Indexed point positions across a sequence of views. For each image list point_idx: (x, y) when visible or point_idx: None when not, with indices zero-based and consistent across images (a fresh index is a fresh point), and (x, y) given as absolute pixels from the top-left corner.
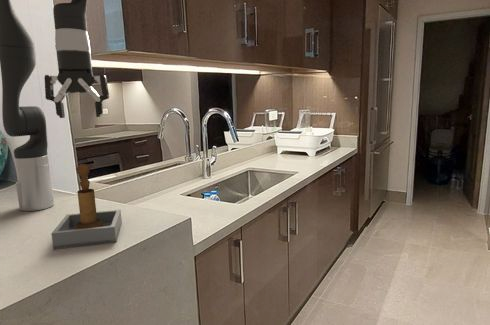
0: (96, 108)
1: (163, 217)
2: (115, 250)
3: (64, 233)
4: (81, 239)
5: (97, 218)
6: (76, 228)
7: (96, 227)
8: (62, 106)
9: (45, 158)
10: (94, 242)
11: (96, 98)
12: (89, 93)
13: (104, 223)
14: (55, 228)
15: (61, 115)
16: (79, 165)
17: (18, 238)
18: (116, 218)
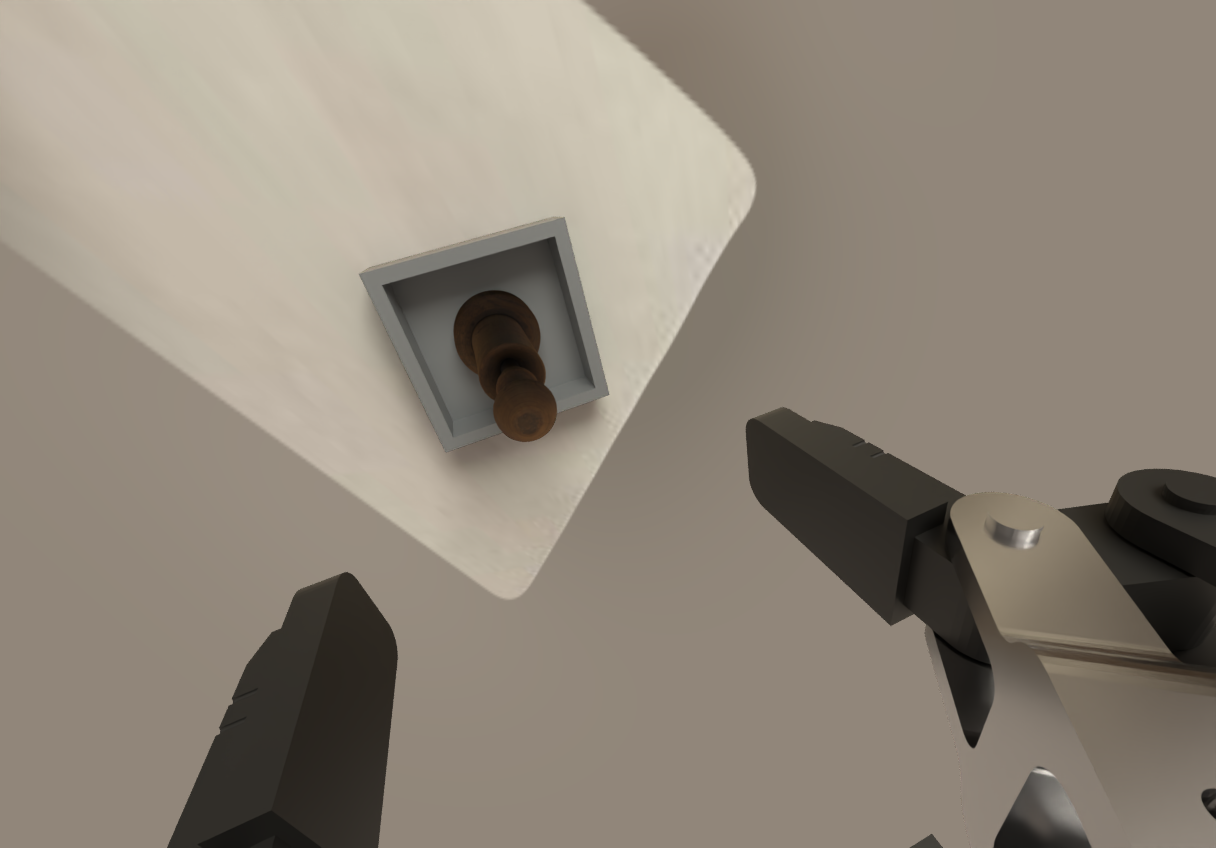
0: (829, 554)
1: (685, 163)
2: (612, 423)
3: (480, 439)
4: None
5: (516, 314)
6: (471, 370)
7: (559, 402)
8: (340, 764)
9: None
10: None
11: (973, 669)
12: (979, 841)
13: (504, 250)
14: (428, 416)
15: (386, 671)
16: (520, 436)
17: (238, 362)
18: (588, 323)
